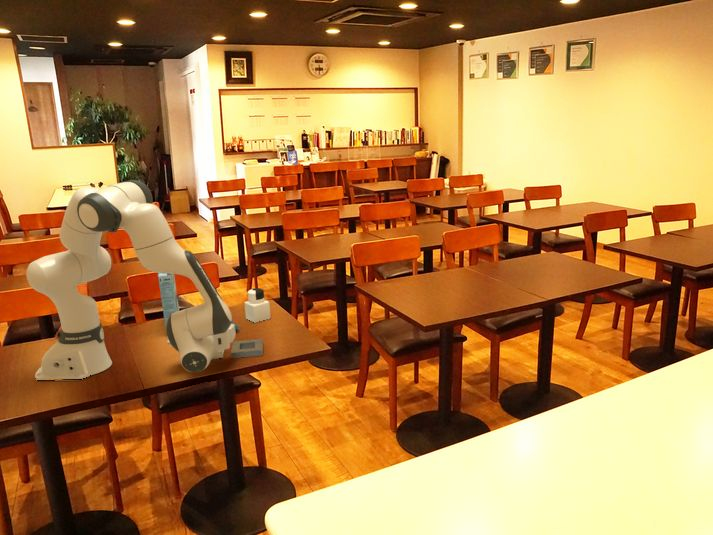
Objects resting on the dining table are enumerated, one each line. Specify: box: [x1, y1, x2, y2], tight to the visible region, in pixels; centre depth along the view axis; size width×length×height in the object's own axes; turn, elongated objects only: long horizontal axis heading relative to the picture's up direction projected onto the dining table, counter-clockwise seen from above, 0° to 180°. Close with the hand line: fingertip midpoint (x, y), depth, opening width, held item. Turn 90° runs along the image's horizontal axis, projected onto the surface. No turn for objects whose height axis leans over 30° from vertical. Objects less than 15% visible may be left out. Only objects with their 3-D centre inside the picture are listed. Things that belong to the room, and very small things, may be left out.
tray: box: [211, 350, 225, 360], centre depth 196 cm, size 10×8×2 cm
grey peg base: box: [230, 338, 264, 359], centre depth 198 cm, size 10×10×2 cm
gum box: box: [157, 273, 180, 335], centre depth 221 cm, size 20×5×23 cm, turn 15°
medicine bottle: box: [244, 287, 272, 324], centre depth 226 cm, size 7×7×12 cm
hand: (205, 326), depth 194 cm, fingers open, 8 cm apart
